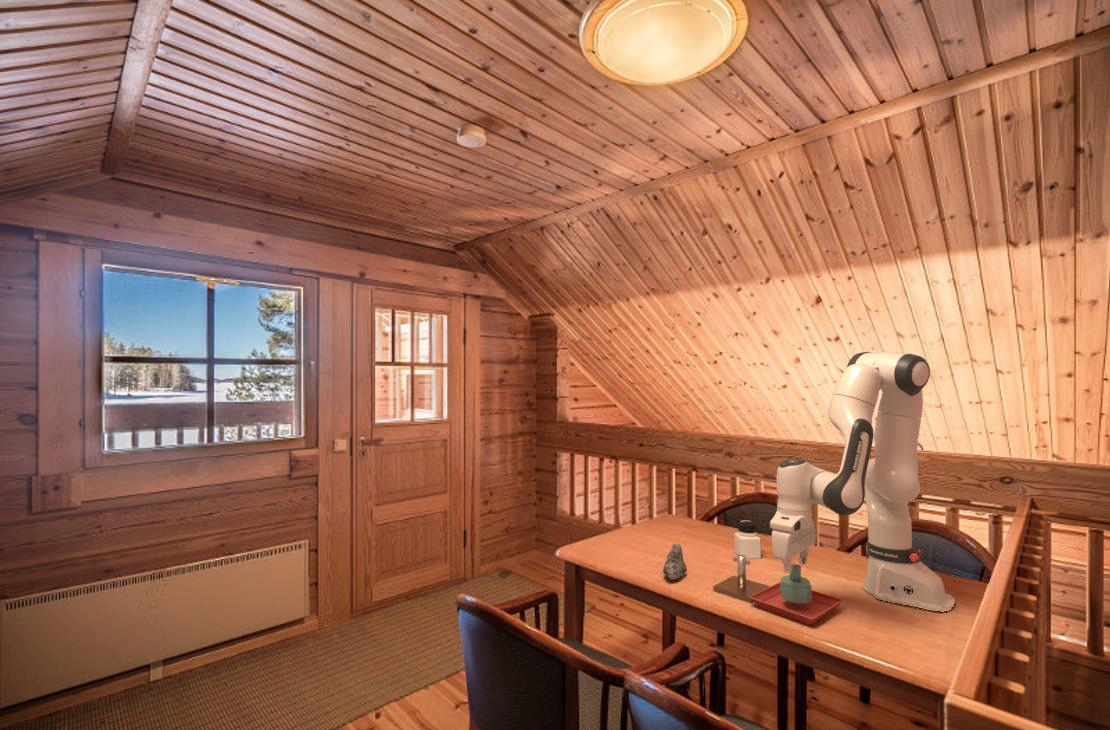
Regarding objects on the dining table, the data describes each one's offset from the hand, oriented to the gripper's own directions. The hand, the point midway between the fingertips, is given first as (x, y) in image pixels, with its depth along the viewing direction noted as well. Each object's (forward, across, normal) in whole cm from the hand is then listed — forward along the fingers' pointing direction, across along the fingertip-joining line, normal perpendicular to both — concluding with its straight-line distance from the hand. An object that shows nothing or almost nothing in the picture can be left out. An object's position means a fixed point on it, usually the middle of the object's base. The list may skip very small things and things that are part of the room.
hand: (796, 567), depth 150 cm
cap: (+8, 0, 0) cm, 8 cm away
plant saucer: (+12, 0, 0) cm, 12 cm away
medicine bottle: (+11, -30, -30) cm, 44 cm away
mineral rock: (+11, +5, -38) cm, 40 cm away
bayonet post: (+11, 0, -16) cm, 19 cm away
